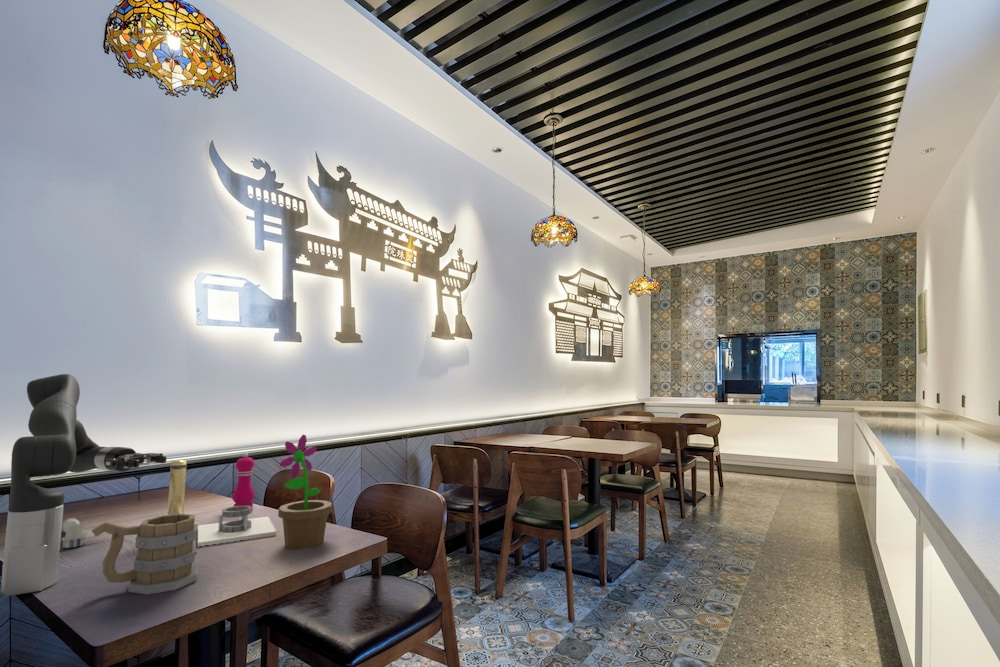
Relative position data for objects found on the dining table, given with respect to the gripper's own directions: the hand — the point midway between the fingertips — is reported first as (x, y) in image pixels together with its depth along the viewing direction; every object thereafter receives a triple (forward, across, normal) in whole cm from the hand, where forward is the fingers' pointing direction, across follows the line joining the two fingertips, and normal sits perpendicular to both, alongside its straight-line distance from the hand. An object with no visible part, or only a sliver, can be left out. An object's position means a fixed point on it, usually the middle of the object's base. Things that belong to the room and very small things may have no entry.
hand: (151, 461), depth 153 cm
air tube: (+12, 0, +21) cm, 24 cm away
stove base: (+26, +8, +21) cm, 35 cm away
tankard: (+40, -30, +21) cm, 54 cm away
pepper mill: (+5, +32, +22) cm, 39 cm away
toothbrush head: (-15, -11, +22) cm, 29 cm away
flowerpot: (+54, +6, +21) cm, 58 cm away
